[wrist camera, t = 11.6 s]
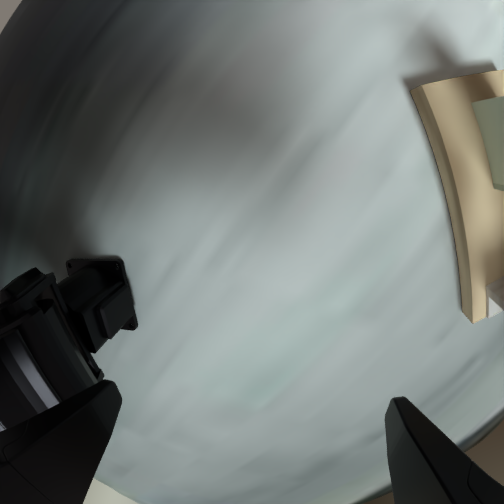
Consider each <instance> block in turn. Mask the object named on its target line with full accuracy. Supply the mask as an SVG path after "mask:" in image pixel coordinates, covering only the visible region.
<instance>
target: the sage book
mask: <svg viewBox="0 0 504 504" xmlns="http://www.w3.org/2000/svg"><path fill="white" fill-rule="evenodd" d="M471 104H472V107H473V110H474V113H475V116H476V119H477V122H478V125H479V128H480V131H481V135H482V138H483V142H484V145H485V149H486V153H487V157H488V161H489V165H490V170H491V174H492V179H493V187H494V189H497V190H500V191H504V96H500V97H495V98H490V99H486V100H481V101H477V102H472V103H471Z"/></svg>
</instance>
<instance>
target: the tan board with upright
mask: <svg viewBox="0 0 504 504" xmlns="http://www.w3.org/2000/svg"><path fill="white" fill-rule="evenodd" d="M410 92H411V95H412V97H413V99H414V102H415V104H416V106H417V109H418V111H419V114H420V116H421V119H422V121H423V124H424V127H425V129H426V132H427V135H428V138H429V141H430V143H431V146H432V149H433V153H434V156H435V159H436V162H437V165H438V169H439V172H440V176H441V179H442V183H443V187H444V191H445V195H446V199H447V203H448V208H449V212H450V217H451V222H452V227H453V233H454V238H455V244H456V251H457V258H458V266H459V274H460V284H461V297H462V312H463V313H464V315H465V316H466V317H467V318H468V319H469V320H470V321H471V323H472V324H474V323H476V322H477V321H479V320H481V319H483V318H485V317H487V318H488V319H489V318H491V317H493V316H494V315H496V314H498V313H499V312H501V311H504V191H500V190H497V189H494V187H493V179H492V174H491V170H490V165H489V161H488V157H487V153H486V149H485V145H484V142H483V138H482V135H481V131H480V128H479V125H478V122H477V119H476V116H475V113H474V110H473V107H472V104H471V103H472V102H477V101H481V100H486V99H490V98H495V97H500V96H504V70H498V71H491V72H484V73H478V74H472V75H466V76H461V77H456V78H451V79H446V80H442V81H437V82H433V83H429V84H424V85H421V86H419V87H417V88H415V89H413V90H411V91H410Z"/></svg>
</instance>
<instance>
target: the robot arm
mask: <svg viewBox="0 0 504 504" xmlns="http://www.w3.org/2000/svg"><path fill="white" fill-rule="evenodd" d="M116 264H118V266H119V268H118V267H117V265H116ZM71 265H72V266H71ZM66 267H67V271H68V275H69V276H68V277H67V278H65V279H64V280H62V281H61V282H59V283H58V284H57V283H56V281H55V280H56V278H55V275H54V273H50V274H46V275H45V274H43V273H41V272H40V271H39V270H38V269H37V268H36V267H35V268H32V269H30V270H28V271H27V272H25V273H23V274H21V275H20V276H18V277H17V278H15V279H14V280H12V281H11V282H10V283H9V284H8V285H6V286H5V287H4V288H3V289H2V290H1V291H0V504H83V502H84V499H85V496H86V494H87V491H88V489H89V487H90V484H91V482H92V480H93V477H94V475H95V472H96V470H97V468H98V465H99V463H100V461H101V458H102V456H103V454H104V452H105V449H106V447H107V445H108V443H109V440H110V438H111V435H112V432H113V429H114V426H115V423H116V420H117V417H118V414H119V411H120V408H121V405H122V397H121V394H120V392H119V390H118V388H117V386H116V384H115V382H113V381H110V380H106V379H104V380H103V378H104V373H103V372H102V370H101V369H99V367H98V365H97V364H96V362H95V360H94V359H93V357H92V355H91V353H96V352H97V351H98V350H99V349H100V348H101V347H102V346H103V344H104V343H105V342H106V341H107V340H108V339H112V338H113V337H114V335H115V334H116V333H117V332H118V331H119V330H120V329H124V330H132V331H133V330H135V329H136V328H137V327H138V323H137V319H136V315H135V310H134V306H133V302H132V298H131V293H130V289H129V286H128V282H127V278H126V273H125V268H124V264H123V262H122V261H121V260H120V259H69V260H68V261H67V262H66ZM131 324H133V325H131ZM385 428H386V441H387V456H388V465H389V471H390V477H391V483H392V489H393V495H394V502H395V504H504V486H502V485H501V484H500V483H498V482H497V481H495V480H494V479H493V478H492V477H490V476H489V475H488V474H487V473H486V472H485V471H483V470H482V469H481V468H480V467H479V466H478V465H477V464H476V463H475V462H474V461H472V460H471V459H470V458H469V457H468V456H467V455H466V454H465V453H464V452H463V451H462V450H461V449H460V448H459V447H458V446H457V445H456V444H455V443H453V442H452V441H451V440H450V439H449V438H448V437H447V436H446V435H445V434H444V433H443V432H442V431H441V430H440V429H439V428H438V427H437V426H436V425H434V424H433V423H432V422H431V421H430V420H429V419H428V418H427V417H426V416H425V415H424V414H423V413H422V412H421V411H420V410H419V409H418V408H417V407H415V406H414V405H413V404H412V403H411V402H410V401H409V400H408V399H407V398H406V397H404V396H402V397H394V398H392V399H391V401H390V404H389V406H388V409H387V412H386V414H385Z"/></svg>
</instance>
